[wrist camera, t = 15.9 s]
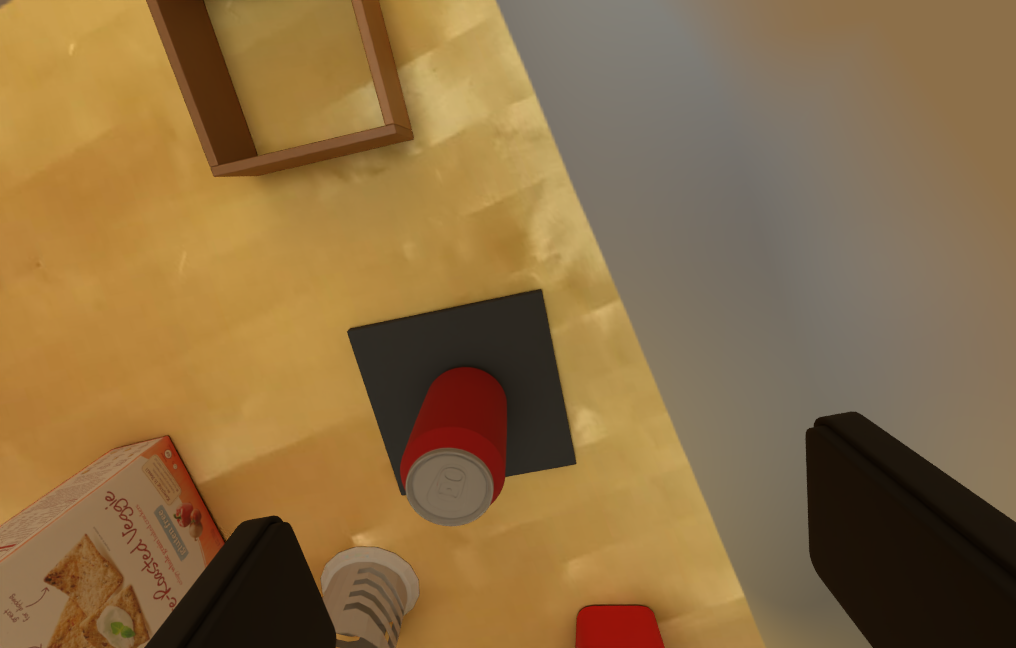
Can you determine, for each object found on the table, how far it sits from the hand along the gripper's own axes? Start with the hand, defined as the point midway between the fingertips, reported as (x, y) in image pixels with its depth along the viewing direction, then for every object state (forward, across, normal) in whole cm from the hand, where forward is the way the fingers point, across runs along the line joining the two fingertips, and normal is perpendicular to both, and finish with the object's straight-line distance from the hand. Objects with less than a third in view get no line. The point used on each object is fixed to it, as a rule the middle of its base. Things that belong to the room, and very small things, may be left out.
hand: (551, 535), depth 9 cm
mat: (+30, +7, +11) cm, 33 cm away
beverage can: (+30, +7, +11) cm, 32 cm away
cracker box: (+31, +36, +16) cm, 50 cm away
